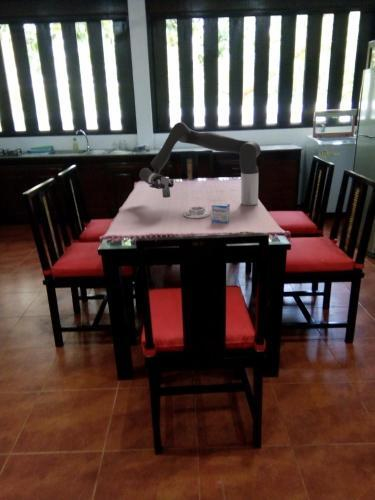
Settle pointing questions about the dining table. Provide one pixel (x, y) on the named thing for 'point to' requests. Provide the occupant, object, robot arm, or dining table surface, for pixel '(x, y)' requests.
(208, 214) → the rosette plate
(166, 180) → the steel pin
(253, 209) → the dining table surface
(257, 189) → the robot arm
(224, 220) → the medicine box
